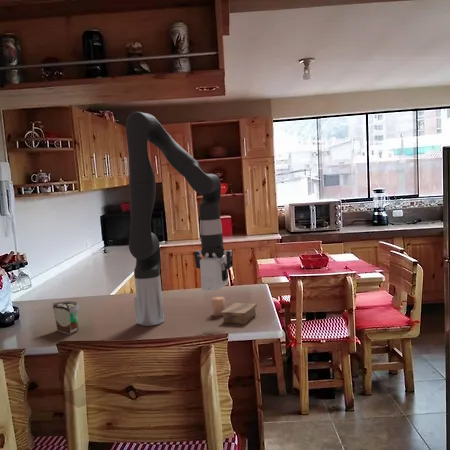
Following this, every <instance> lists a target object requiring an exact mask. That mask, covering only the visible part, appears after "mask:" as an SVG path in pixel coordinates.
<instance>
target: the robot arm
mask: <svg viewBox="0 0 450 450" xmlns="http://www.w3.org/2000/svg"><path fill="white" fill-rule="evenodd" d="M125 135H126V143H127V149H128V151H127V153H128V174H129V175H128V185H129V186H128V187H129V188H128V191H129V192H128V193H129V212H130V214H129V215H130V226H129V238H128V250H129V253H130V254H131V256H132V257H133V258H134V259H135V261H136V262H135V268H134V270H133V275H134V284H135V285H134V286H135V297H134V299H133V301H134V302H133V303H134V312H135V322H136V324H137V325H139V326H144V327H148V326H149V327H150V326H156V325H159V324H163V323H164V321H165V317H164V306H163V305H164V304H163V294H162V293H163V291H162V282H161V281H162V280H161V265H162V264H161V262H162V260H161V247H160V241H159V239H158V236H157V235H156V234H155V233H153V232H152V225H151V224H152V214H153V210H154V207H155V201H156V197H157V196H156V191H157V190H156V189H157V188H156V187H157V186H156V184H157V182H156V180H157V179H156V176H155V171H154V168H153V165H152V163H151V161H150V157H149V153H148V142H149V143H151V144H153V145H154V146H155V147H156V148H158V150H160V151H161V153H162V154H163V156H164V158H165V159H166V160H167V162H168V163H169V164H170V165H171V167H172V168H173V169H175V170H176V172H177V173H179V174H180V175H181V176H182V177H184V179H185V180H186V182H187V183H188V184H189V186H190V187H191V188H192V190H193V191H195V192H196V193H197V194H199V195H201V196H202V202H201V203H200V204H199V206H198V214H199V233H200V244H201V250H199V249H198V250H195V251H193V256H194V262H195V268H196V269H199V270H200V260H201V259H202V256H203V258H218V259H219V258H222V257H223V255H225V256H226V259H227V264H226V263H225V260H224V258H223V261H220V263H221V268H222V280H223V281H226V280H227V279H228V280H229V273H228V272H229V271H228V269H231V268H233V263H234V260H233V259H234V257H233V252H234V251H233V250H232V249H229V250H228V249H227V250H225V248H224V235H223V224H222V220H221V210H220V209H221V208H220V203H221V193H222V186H221V185H222V184H221V180H220V178H219V176H218V175H216V174H214V173H205V172H204V171H203V169H201V165H200V163H199V162H198V160H196V159H195V158H194V157H193V156H192V155H191V154H190V153H189V152H188V151H186V150H185V149H184V148H183V147H182V146H181V145H180V144H179V143H178V142H177V141H175V139H173V137H172V136H171V135H170V134H169V133H168V132H167V130H166V128H164V127H163V125H162V124H161V123H160V122H159V121H158V119H157V118H156V117H155V116H154V115H152V114H150V113H147V112H142V111H133V112H131V113H130V114H129V115H128V116H127V119H126V121H125Z"/></svg>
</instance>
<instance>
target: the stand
mask: <svg viewBox="0 0 450 450" xmlns="http://www.w3.org/2000/svg"><path fill="white" fill-rule="evenodd" d="M257 307H258V304H257V303H245V302H244V303H243V302H233V303H231V304H230V305H228V306H227V307H225V310H223V311H222V312H221V315H223V317H222V318H223V323H224V324H225V323H226V324H237V325H240V324H242V325H245V324H247V323H248V322H249V321H251V319H253V318H254V317H255V316H256V308H257Z"/></svg>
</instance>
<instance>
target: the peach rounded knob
mask: <svg viewBox="0 0 450 450" xmlns="http://www.w3.org/2000/svg"><path fill="white" fill-rule="evenodd" d="M225 299H226V298H225V297H224V296H214V297H211V299H210V301H211V302H210V303H211V313H212V316H215V317H222V316H223V315H221V312H222V311H223V310H225V309H226V300H225Z"/></svg>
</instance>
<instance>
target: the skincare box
mask: <svg viewBox="0 0 450 450" xmlns="http://www.w3.org/2000/svg"><path fill="white" fill-rule="evenodd" d="M223 258H224V260H225V263H226V264H227V259H226V256H225V254H224V255H223V257H222V258H219V259H218V258H204V257H203V258H201V260H200V269H199V270H200V271H199V272H200V288H201V289H200V290H201V291H220V290H221V289H222V288H224V287H226V286H227V285H228V284H229V278H228V279H227V280H226V281H223V280H222V268H221V263H220V261H223Z"/></svg>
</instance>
